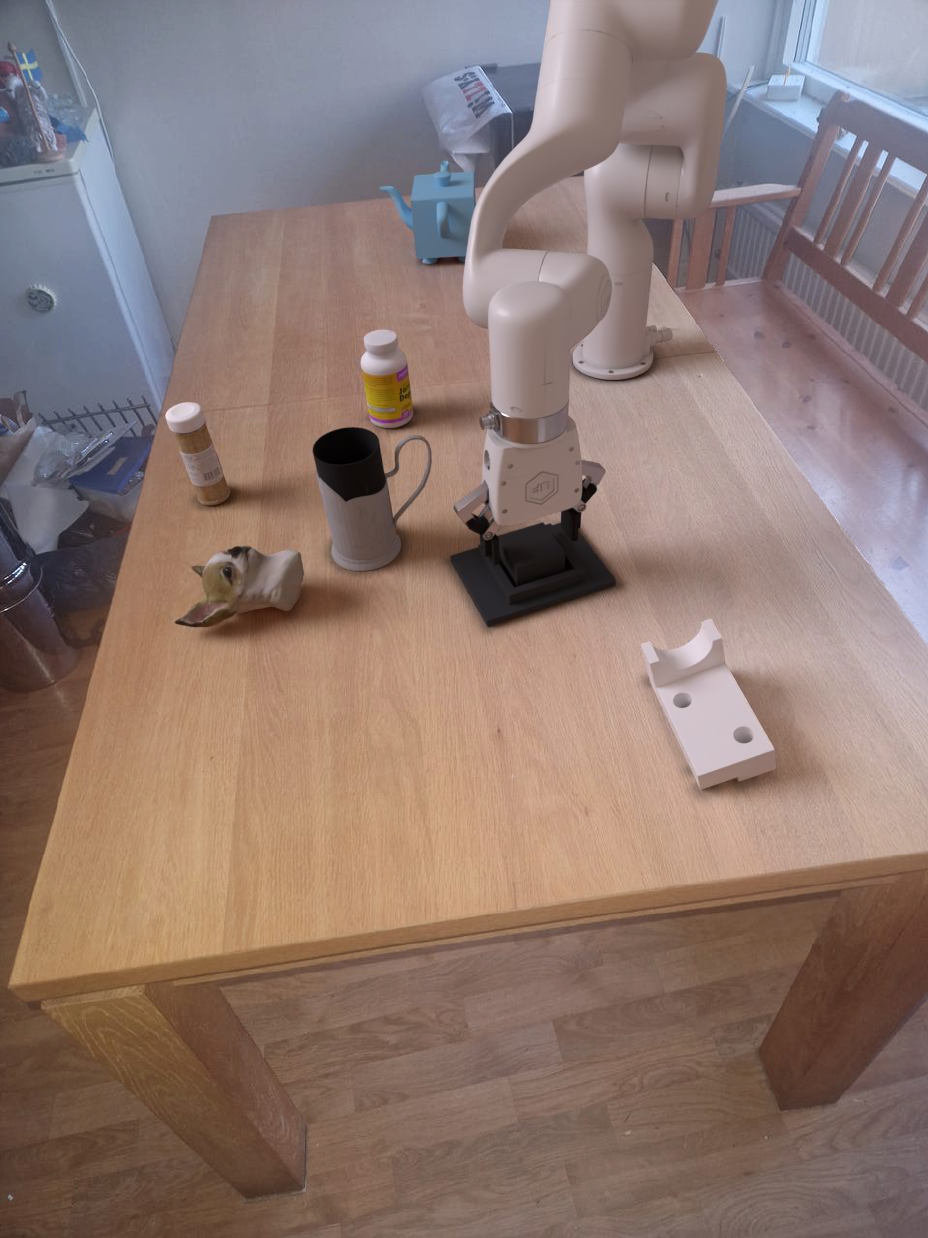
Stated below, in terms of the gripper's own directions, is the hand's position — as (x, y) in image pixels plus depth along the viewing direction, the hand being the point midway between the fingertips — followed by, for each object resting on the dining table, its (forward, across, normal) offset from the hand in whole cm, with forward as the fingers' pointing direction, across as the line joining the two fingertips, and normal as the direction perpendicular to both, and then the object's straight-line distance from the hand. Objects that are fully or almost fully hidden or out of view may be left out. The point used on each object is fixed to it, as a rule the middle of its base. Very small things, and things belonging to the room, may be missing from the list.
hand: (530, 545), depth 91 cm
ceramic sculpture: (+4, -32, +9) cm, 34 cm away
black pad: (+3, 0, 0) cm, 3 cm away
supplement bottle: (+4, -5, +40) cm, 41 cm away
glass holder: (+4, -14, +13) cm, 20 cm away
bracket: (+4, +6, -27) cm, 28 cm away
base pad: (+4, 0, 0) cm, 4 cm away
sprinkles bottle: (+4, -33, +32) cm, 46 cm away
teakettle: (+4, +24, +95) cm, 98 cm away
